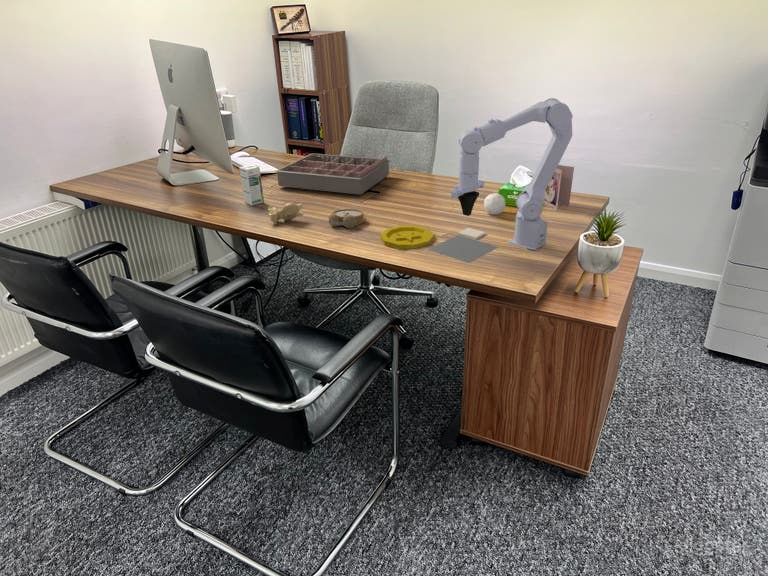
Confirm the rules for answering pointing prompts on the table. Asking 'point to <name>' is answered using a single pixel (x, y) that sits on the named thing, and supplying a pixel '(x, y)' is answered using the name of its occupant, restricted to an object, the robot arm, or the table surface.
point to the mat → (463, 248)
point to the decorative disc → (406, 237)
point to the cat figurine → (285, 212)
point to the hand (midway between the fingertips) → (466, 214)
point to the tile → (471, 233)
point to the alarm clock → (346, 217)
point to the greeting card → (559, 187)
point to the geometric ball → (494, 204)
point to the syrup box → (251, 184)
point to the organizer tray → (334, 173)
